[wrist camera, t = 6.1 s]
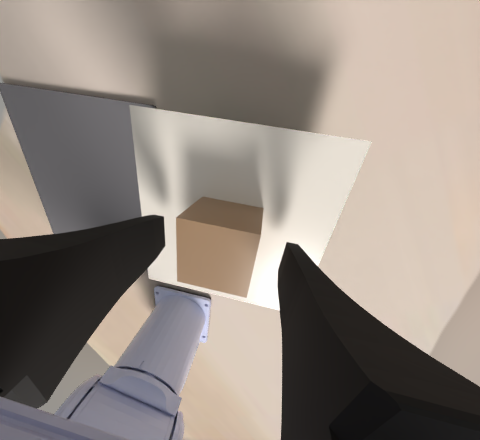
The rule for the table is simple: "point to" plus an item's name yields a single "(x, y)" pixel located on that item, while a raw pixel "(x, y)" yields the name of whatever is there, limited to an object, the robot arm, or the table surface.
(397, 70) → the table surface
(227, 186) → the lid
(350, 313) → the robot arm
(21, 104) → the mat
